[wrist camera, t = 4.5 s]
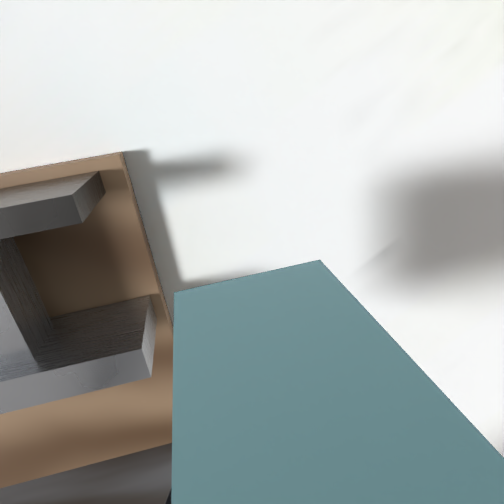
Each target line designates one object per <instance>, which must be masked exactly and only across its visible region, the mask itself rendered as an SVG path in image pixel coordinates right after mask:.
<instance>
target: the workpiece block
mask: <svg viewBox="0 0 504 504" xmlns="http://www.w3.org/2000/svg"><path fill="white" fill-rule="evenodd" d="M171 504H504V458H503V457H502V456H501V454H500V453H499V452H498V451H497V450H496V449H495V448H494V447H493V446H492V445H491V444H490V443H489V441H488V440H487V439H486V438H485V437H484V436H483V435H482V434H481V433H480V432H479V431H478V430H477V429H476V427H475V426H474V425H473V424H472V423H471V422H470V421H469V420H468V419H467V418H466V417H465V416H464V415H463V413H462V412H461V411H460V410H459V409H458V408H457V407H456V406H455V405H454V404H453V403H452V402H451V401H450V399H449V398H448V397H447V396H446V395H445V394H444V393H443V392H442V391H441V390H440V389H439V388H438V387H437V385H436V384H435V383H434V382H433V381H432V380H431V379H430V378H429V377H428V376H427V375H426V374H425V373H424V371H423V370H422V369H421V368H420V367H419V366H418V365H417V364H416V363H415V362H414V361H413V360H412V359H411V357H410V356H409V355H408V354H407V353H406V352H405V351H404V350H403V349H402V348H401V347H400V346H399V345H398V343H397V342H396V341H395V340H394V339H393V338H392V337H391V336H390V335H389V334H388V333H387V332H386V331H385V329H384V328H383V327H382V326H381V325H380V324H379V323H378V322H377V321H376V320H375V319H374V318H373V317H372V315H371V314H370V313H369V312H368V311H367V310H366V309H365V308H364V307H363V306H362V305H361V304H360V303H359V301H358V300H357V299H356V298H355V297H354V296H353V295H352V294H351V293H350V292H349V291H348V290H347V289H346V287H345V286H344V285H343V284H342V283H341V282H340V281H339V280H338V279H337V278H336V277H335V276H334V274H333V273H332V272H331V271H330V270H329V269H328V268H327V267H326V266H325V265H324V264H323V263H322V262H321V260H316V261H312V262H307V263H303V264H298V265H294V266H289V267H285V268H280V269H276V270H271V271H267V272H263V273H258V274H254V275H249V276H245V277H240V278H236V279H231V280H227V281H222V282H218V283H213V284H209V285H204V286H200V287H196V288H191V289H187V290H182V291H178V292H174V326H173V408H172V491H171Z"/></svg>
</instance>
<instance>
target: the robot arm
mask: <svg viewBox="0 0 504 504" xmlns="http://www.w3.org/2000/svg"><path fill="white" fill-rule="evenodd" d="M171 491H172V486H171V488H170V491H169V494H168V496H167V499H166V501H165V504H171Z"/></svg>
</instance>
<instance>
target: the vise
mask: <svg viewBox="0 0 504 504" xmlns="http://www.w3.org/2000/svg"><path fill="white" fill-rule="evenodd" d="M94 171H99V173H100V176H101V179H102V182H103V185H104V188H105V192H106V193H105V195H104V196H103V197H102V199H101V200H100V201H99V202H98V204H97V205H96V206H95V208H94V209H93V210H92V211H91V213H90V214H89V215H88V217H87V218H86V219H85V220H84V222H83V223H80V224H75V225H70V226H65V227H60V228H55V229H50V230H45V231H40V232H35V233H30V234H24V235H19V236H14V237H13V238H14V240H15V242H16V245H17V247H18V249H19V251H20V253H21V256H22V258H23V260H24V262H25V265H26V267H27V269H28V271H29V273H30V276H31V278H32V280H33V282H34V284H35V287H36V289H37V291H38V293H39V296H40V298H41V300H42V302H43V304H44V307H45V309H46V311H47V313H48V315H49V317H54V316H58V315H63V314H67V313H72V312H76V311H81V310H85V309H90V308H94V307H99V306H103V305H108V304H112V303H117V302H121V301H126V300H130V299H135V298H139V297H144V296H148V295H150V299H151V302H152V305H153V308H154V312H155V315H156V318H157V325H156V335H155V345H154V355H153V365H152V375H151V377H150V378H146V379H142V380H138V381H134V382H130V383H126V384H122V385H118V386H113V387H109V388H105V389H101V390H97V391H93V392H89V393H85V394H81V395H77V396H73V397H69V398H65V399H61V400H56V401H52V402H48V403H44V404H40V405H36V406H32V407H28V408H24V409H20V410H16V411H12V412H8V413H4V414H0V504H165V501H166V499H167V496H168V494H169V491H170V488H171V486H172V408H173V325H172V322H171V319H170V315H169V312H168V308H167V305H166V301H165V298H164V294H163V291H162V288H161V284H160V281H159V277H158V274H157V270H156V267H155V263H154V260H153V256H152V253H151V250H150V246H149V243H148V239H147V236H146V232H145V229H144V225H143V222H142V219H141V215H140V212H139V208H138V205H137V201H136V198H135V194H134V191H133V188H132V184H131V181H130V177H129V174H128V170H127V167H126V163H125V160H124V156H123V153H122V152H117V153H112V154H106V155H101V156H95V157H89V158H84V159H78V160H73V161H67V162H61V163H56V164H50V165H44V166H39V167H33V168H28V169H22V170H16V171H11V172H5V173H0V189H1V188H7V187H12V186H18V185H23V184H29V183H34V182H40V181H45V180H50V179H56V178H61V177H67V176H72V175H78V174H83V173H89V172H94Z"/></svg>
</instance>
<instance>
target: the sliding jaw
mask: <svg viewBox="0 0 504 504" xmlns="http://www.w3.org/2000/svg"><path fill="white" fill-rule="evenodd" d="M105 193H106V192H105V188H104V185H103V182H102V179H101V176H100V173H99V171H94V172H89V173H83V174H78V175H72V176H67V177H61V178H56V179H50V180H45V181H40V182H34V183H29V184H23V185H18V186H12V187H7V188H1V189H0V414H4V413H8V412H12V411H16V410H20V409H24V408H28V407H32V406H36V405H40V404H44V403H48V402H52V401H56V400H61V399H65V398H69V397H73V396H77V395H81V394H85V393H89V392H93V391H97V390H101V389H105V388H109V387H113V386H118V385H122V384H126V383H130V382H134V381H138V380H142V379H146V378H150V377H151V375H152V365H153V355H154V345H155V335H156V325H157V318H156V315H155V312H154V308H153V305H152V302H151V299H150V295H148V296H144V297H139V298H135V299H130V300H126V301H121V302H117V303H112V304H108V305H103V306H99V307H94V308H90V309H85V310H81V311H76V312H72V313H67V314H63V315H58V316H54V317H49V315H48V313H47V311H46V309H45V307H44V304H43V302H42V300H41V298H40V296H39V293H38V291H37V289H36V287H35V284H34V282H33V280H32V278H31V276H30V273H29V271H28V269H27V267H26V265H25V262H24V260H23V258H22V256H21V253H20V251H19V249H18V247H17V245H16V242H15V240H14V238H13V237H14V236H19V235H24V234H30V233H35V232H40V231H45V230H50V229H55V228H60V227H65V226H70V225H75V224H80V223H83V222H84V220H85V219H86V218H87V217H88V215H89V214H90V213H91V211H92V210H93V209H94V208H95V206H96V205H97V204H98V202H99V201H100V200H101V199H102V197H103V196H104V195H105Z"/></svg>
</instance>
